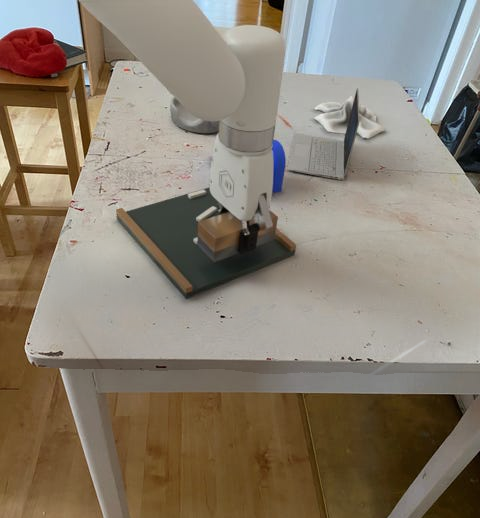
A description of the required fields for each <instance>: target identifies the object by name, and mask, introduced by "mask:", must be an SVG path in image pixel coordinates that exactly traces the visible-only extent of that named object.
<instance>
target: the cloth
mask: <svg viewBox="0 0 480 518" xmlns="http://www.w3.org/2000/svg"><path fill="white" fill-rule="evenodd" d="M354 98H355V96H353V95H351V96H350V97H348V98H347V99H346V100H345V101H343V103H339V102H336V101H327V102H322V103H319V104H318V105H317V106H316V107H314V110H316V111H321V112H323V113H320V114H317V115H316V116H315V117H313V119H314V120H315V121H316V122H318V123H319V124H320V125H321V126H322V127H323V128H324V129H325V130H326V132H328V133H334V134H343V135H345V134H346V130H347V126H348V122H349V118H350V114H351V110H352V106H353V102H354ZM359 118H360V122H359V126H358V130H357V134H358V135H359V136H360V137H361V138H363V139H367V140H369V139H370V138H372V137H375V136H376V135H378V134H380V133H382V132H385V131H386V130H385V128H384V126H383V125H381V124H380V123H378V122H377V115H376V114H375V113H374V112H373V111H372V110H371V109H369V108H368V107H366V106H365V105H364V104H361V103H359Z"/></svg>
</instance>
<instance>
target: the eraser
mask: <svg viewBox="0 0 480 518" xmlns="http://www.w3.org/2000/svg"><path fill="white" fill-rule="evenodd" d="M269 213H270V216H271V220H272V223H273V226H272V227H271V228H268V229H265V230H261V231H258V237H257V244H256V246H259V245H261V244H264V243H266V242H269V241H272V240H274V239H275V233H276V228H277V226H278V220H279V216H278V215H276V214H275V213H274V212H273V211H272V210H270V209H269ZM252 224H254V218H252V219H251V220H249V225H252ZM242 231H243V228H242V221H241V220H239V219H238V218H237V217H235V216H234V215H233V214H232V213H231V212H227V213H224V214H221V215H218V216H215V217H212V218H208V219H205V220H202V221H199V222H198V246H199V247H200V248H201V249H202V250H203V251H204V252H205V253H206V254H207V255H208V256H209V257H210V258H211V259H212V260H213V261H214V262H216V261H219V260H222V259H224V258H227V257H230V256H232V255H235V254H237V253H239V252H238V247H239V237H240V232H242Z"/></svg>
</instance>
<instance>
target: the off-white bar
mask: <svg viewBox="0 0 480 518" xmlns="http://www.w3.org/2000/svg"><path fill="white" fill-rule="evenodd" d="M199 190H200V191H198V190H196V191H197V192H195V191H192V192H193V193H192V192H189V193H190V194H188V193H187V194H188V197H189V198H190V199H192V198H196V197H199V196H202V195H206V191H205V190H202V189H199Z"/></svg>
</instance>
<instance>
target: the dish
mask: <svg viewBox="0 0 480 518" xmlns="http://www.w3.org/2000/svg"><path fill="white" fill-rule="evenodd" d="M169 107H170V108H169V111H170V117H171V120H172V123H173V124H174V125H176V127H179V129H182V130H185V131H188V132H192V133H198V134H199V133H200V134H213V133H218V132H219V121H205V120H201V119H199V118H197V117H195V116H193V115H192V114H191V113H189V112H188V111H187V110H186V109H185V108H184V106H183V105H182V104H181V103H180V102H179V101H178V100H177V99H176V98H175V97H174V96H173V97H172V98H171V100H170V105H169Z"/></svg>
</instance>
